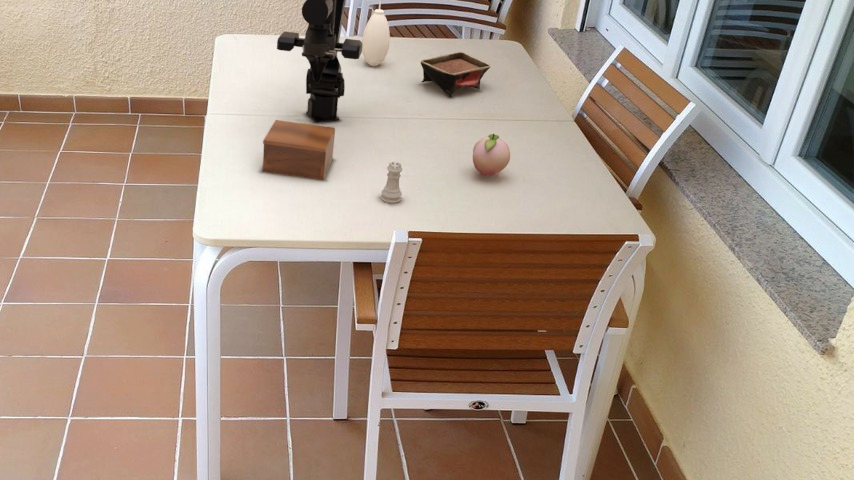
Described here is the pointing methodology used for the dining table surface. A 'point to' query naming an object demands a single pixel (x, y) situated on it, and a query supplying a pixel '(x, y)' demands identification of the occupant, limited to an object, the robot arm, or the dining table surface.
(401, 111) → the dining table surface
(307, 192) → the dining table surface
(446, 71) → the square footed planter
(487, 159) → the decorative fruit
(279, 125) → the bin lid
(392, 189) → the rook chess piece
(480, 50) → the dining table surface
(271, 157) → the bin
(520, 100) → the dining table surface
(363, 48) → the cream tall oval piece
